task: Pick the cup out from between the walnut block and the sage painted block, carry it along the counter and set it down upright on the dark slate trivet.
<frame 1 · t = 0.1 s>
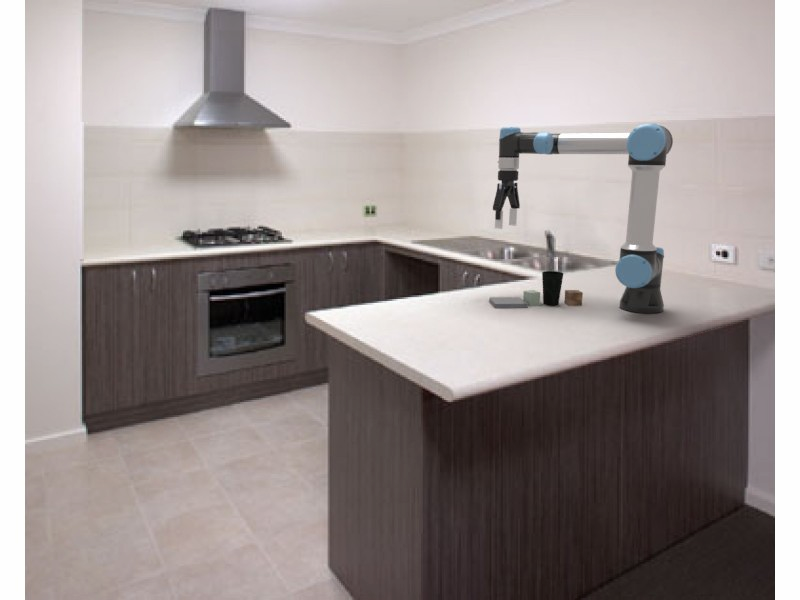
hand: (505, 227, 241), 28 cm above the countertop, fingers open, 13 cm apart
sage block: (531, 304, 238), on the countertop
walnut block: (572, 304, 239), on the countertop
trivet: (508, 304, 237), on the countertop
cup: (550, 304, 238), on the countertop
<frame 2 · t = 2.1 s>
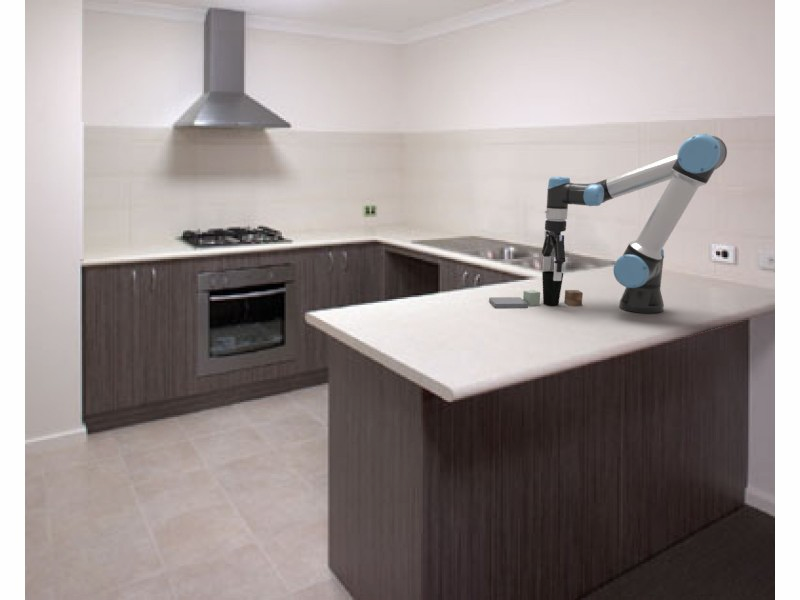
hand: (551, 277, 236), 10 cm above the countertop, fingers open, 13 cm apart
nothing on the countertop moved.
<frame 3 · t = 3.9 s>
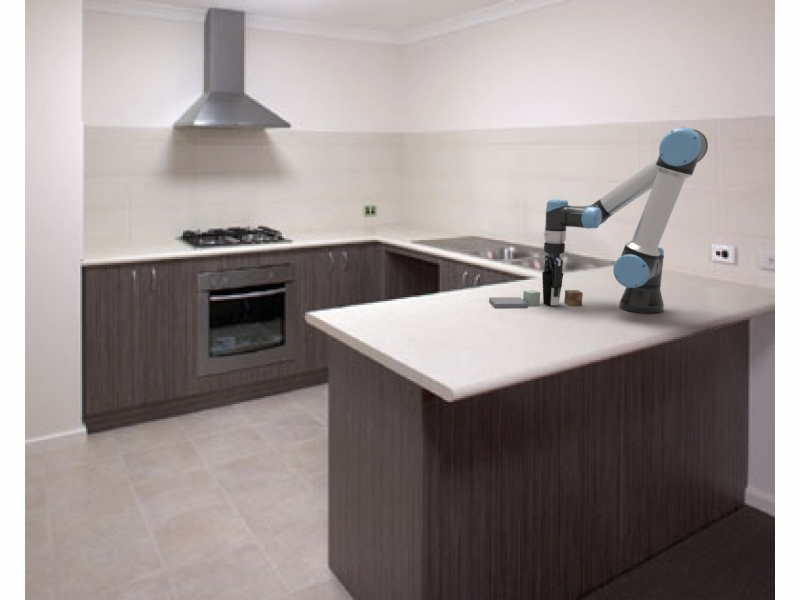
hand: (550, 302, 238), 1 cm above the countertop, fingers closed on cup, 8 cm apart
cup: (550, 304, 238), on the countertop, touching gripper
everything else where it was.
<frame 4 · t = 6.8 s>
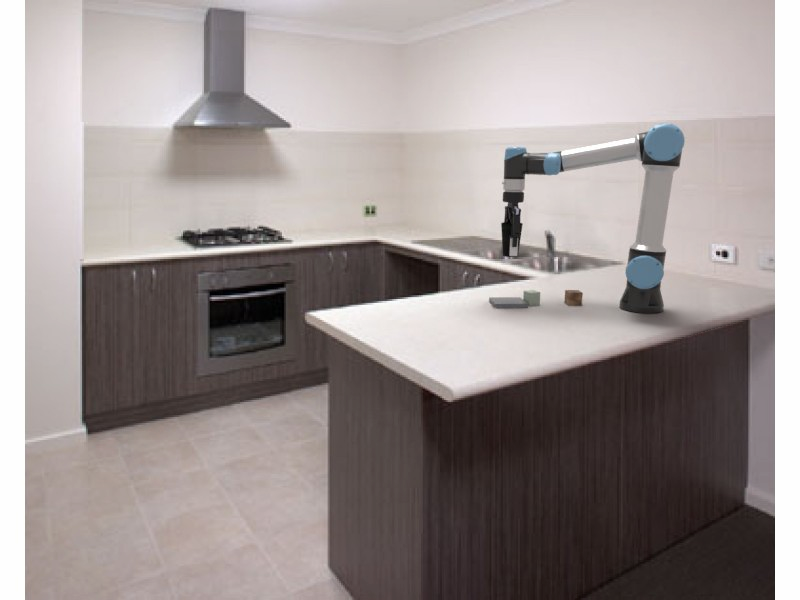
hand: (510, 254, 233), 19 cm above the countertop, fingers closed on cup, 8 cm apart
cup: (510, 256, 233), point 18 cm above the countertop, touching gripper
everything else where it was.
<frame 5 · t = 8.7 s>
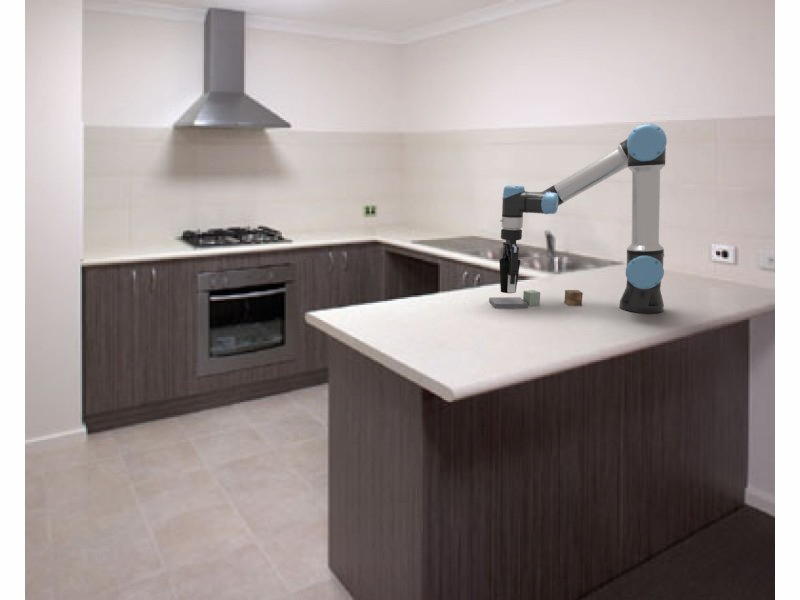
hand: (508, 289, 236), 6 cm above the countertop, fingers closed on cup, 8 cm apart
cup: (508, 292, 236), point 5 cm above the countertop, touching gripper
everything else where it was.
when the fingers open (4 cm above the countertop, at t = 9.9 s): cup drops 1 cm, resting on trivet.
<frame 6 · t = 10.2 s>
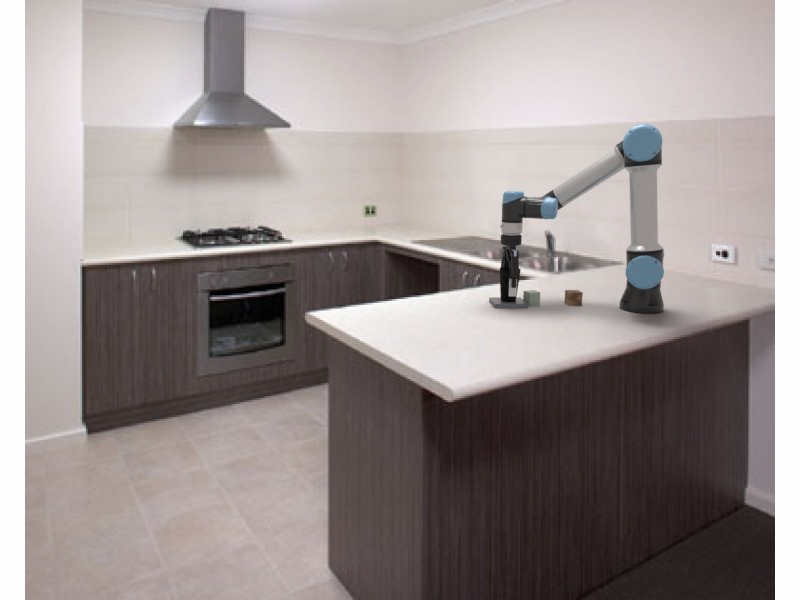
hand: (508, 292, 236), 4 cm above the countertop, fingers open, 11 cm apart
cup: (508, 300, 236), point 1 cm above the countertop, touching trivet
everything else where it was.
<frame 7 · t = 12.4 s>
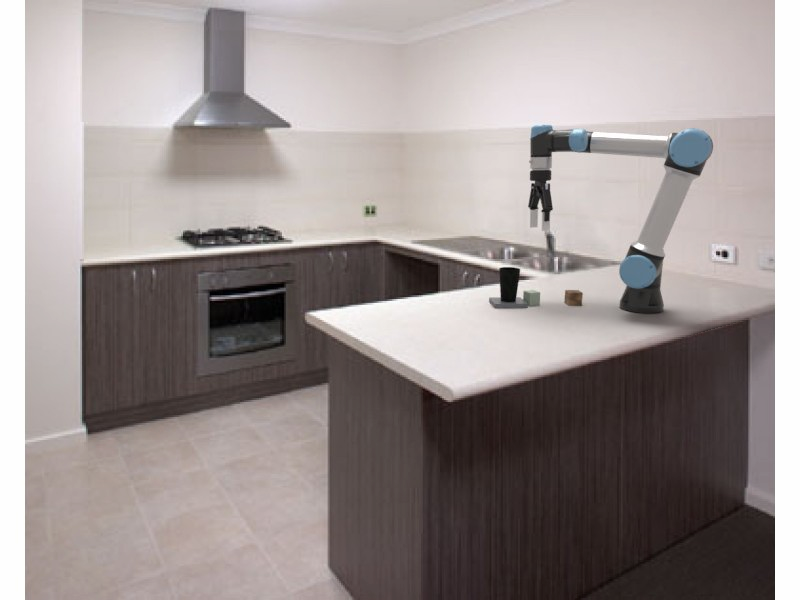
hand: (539, 229, 231), 28 cm above the countertop, fingers open, 13 cm apart
nothing on the countertop moved.
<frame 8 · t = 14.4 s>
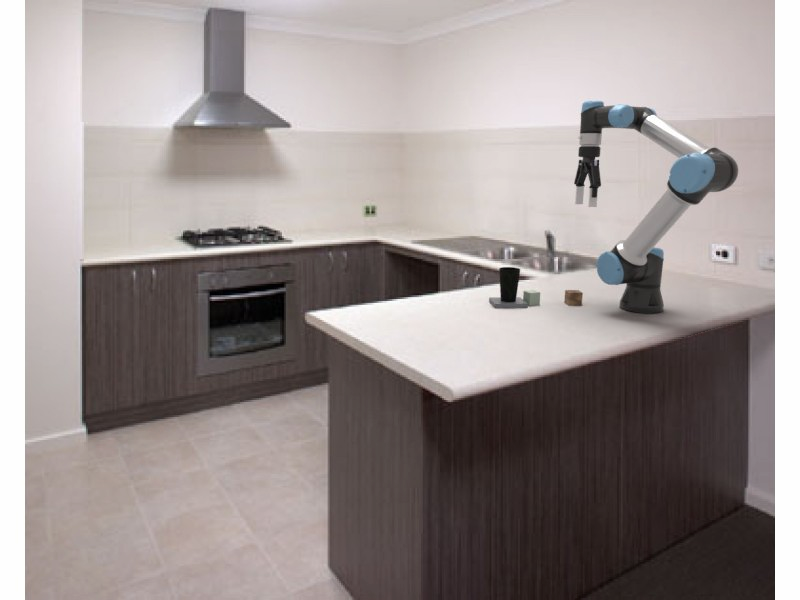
hand: (585, 205, 233), 37 cm above the countertop, fingers open, 13 cm apart
nothing on the countertop moved.
at the end: cup inside the target area on the trivet (0.0 cm from its centre), point 1.4 cm above the trivet's base; cup tilted 0°; the gripper is holding nothing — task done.
